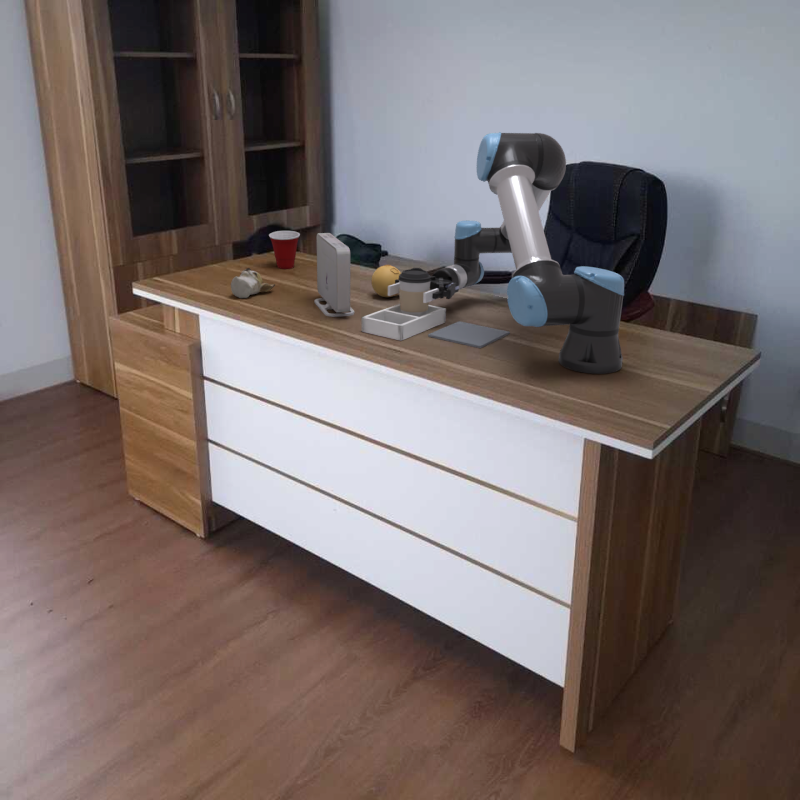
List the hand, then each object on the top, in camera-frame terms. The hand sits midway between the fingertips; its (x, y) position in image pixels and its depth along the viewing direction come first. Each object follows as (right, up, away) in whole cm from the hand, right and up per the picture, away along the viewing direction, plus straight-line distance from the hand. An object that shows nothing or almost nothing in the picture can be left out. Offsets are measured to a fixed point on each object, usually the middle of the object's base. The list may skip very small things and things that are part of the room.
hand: (406, 294), depth 223 cm
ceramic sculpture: (-48, +4, +32) cm, 58 cm away
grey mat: (+17, -11, -3) cm, 21 cm away
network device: (-21, -2, +20) cm, 29 cm away
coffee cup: (+2, -7, +6) cm, 10 cm away
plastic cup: (-42, +18, +68) cm, 82 cm away
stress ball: (-6, +3, +33) cm, 33 cm away
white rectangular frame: (-1, -9, +3) cm, 9 cm away
